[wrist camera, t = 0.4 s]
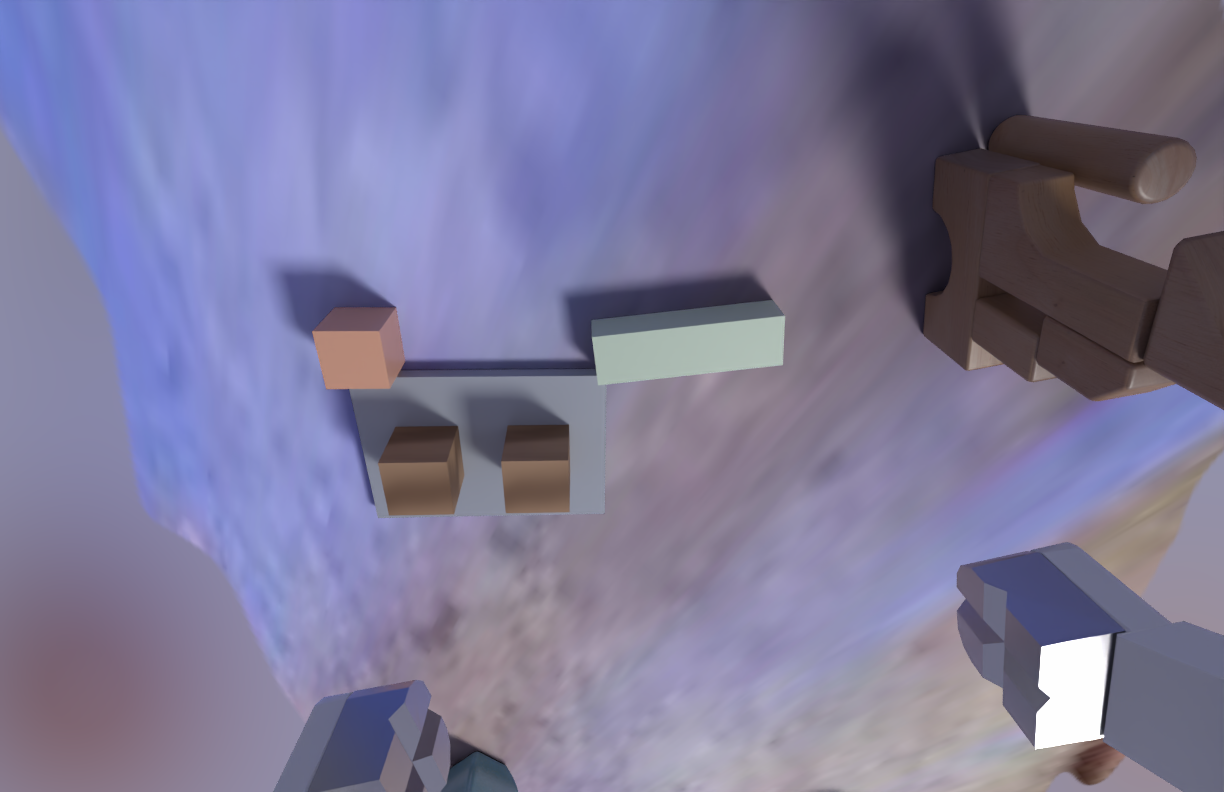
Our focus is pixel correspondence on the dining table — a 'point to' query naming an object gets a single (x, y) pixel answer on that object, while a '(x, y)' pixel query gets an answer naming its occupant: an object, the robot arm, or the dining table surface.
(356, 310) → the cube
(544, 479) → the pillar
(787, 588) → the dining table surface
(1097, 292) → the wooden toy
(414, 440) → the tan wooden block
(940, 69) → the dining table surface
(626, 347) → the plank
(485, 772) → the flower pot
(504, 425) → the board
